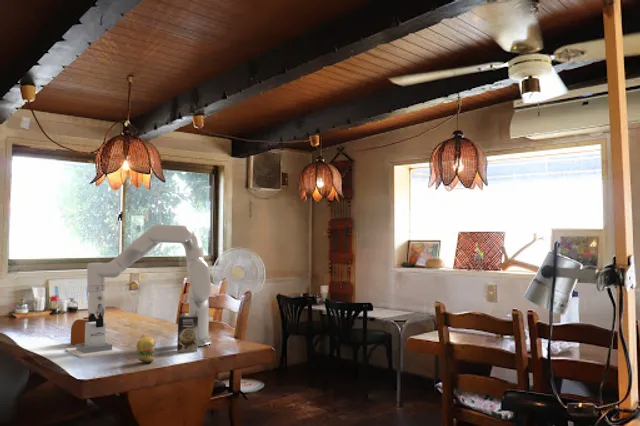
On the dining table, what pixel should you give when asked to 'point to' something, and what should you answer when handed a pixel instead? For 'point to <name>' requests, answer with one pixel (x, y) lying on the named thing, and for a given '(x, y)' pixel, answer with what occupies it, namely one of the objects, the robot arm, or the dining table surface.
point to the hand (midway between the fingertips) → (95, 326)
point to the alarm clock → (78, 331)
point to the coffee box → (187, 333)
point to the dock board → (93, 350)
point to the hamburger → (145, 349)
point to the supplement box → (94, 334)
